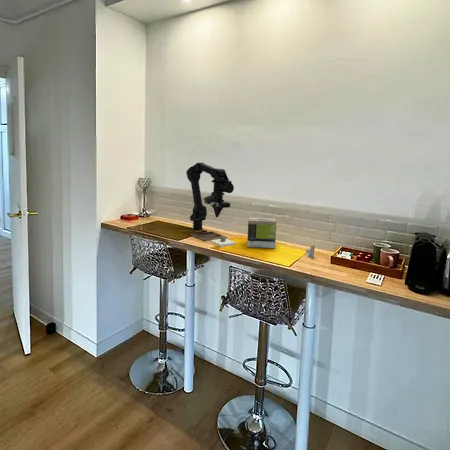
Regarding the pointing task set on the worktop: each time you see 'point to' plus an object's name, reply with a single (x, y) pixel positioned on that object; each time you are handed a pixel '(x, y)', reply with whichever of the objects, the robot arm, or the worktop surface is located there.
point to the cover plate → (223, 242)
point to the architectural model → (311, 252)
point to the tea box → (261, 232)
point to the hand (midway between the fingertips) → (216, 217)
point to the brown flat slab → (207, 236)
